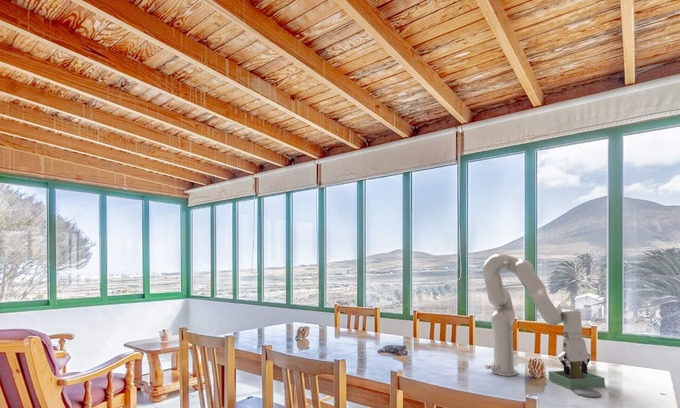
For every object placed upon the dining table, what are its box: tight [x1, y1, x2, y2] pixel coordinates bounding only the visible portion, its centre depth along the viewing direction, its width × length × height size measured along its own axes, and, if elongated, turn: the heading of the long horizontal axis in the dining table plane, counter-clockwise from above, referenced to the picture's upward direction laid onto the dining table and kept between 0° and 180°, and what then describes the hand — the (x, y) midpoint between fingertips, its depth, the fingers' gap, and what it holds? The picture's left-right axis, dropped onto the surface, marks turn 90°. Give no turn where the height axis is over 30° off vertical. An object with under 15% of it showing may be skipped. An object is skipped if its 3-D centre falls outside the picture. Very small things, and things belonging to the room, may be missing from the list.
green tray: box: [548, 369, 606, 390], centre depth 192 cm, size 18×14×4 cm
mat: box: [573, 388, 602, 399], centre depth 178 cm, size 10×10×1 cm
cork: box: [569, 362, 583, 379], centre depth 193 cm, size 6×6×11 cm
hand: (575, 373), depth 193 cm, fingers open, 8 cm apart
